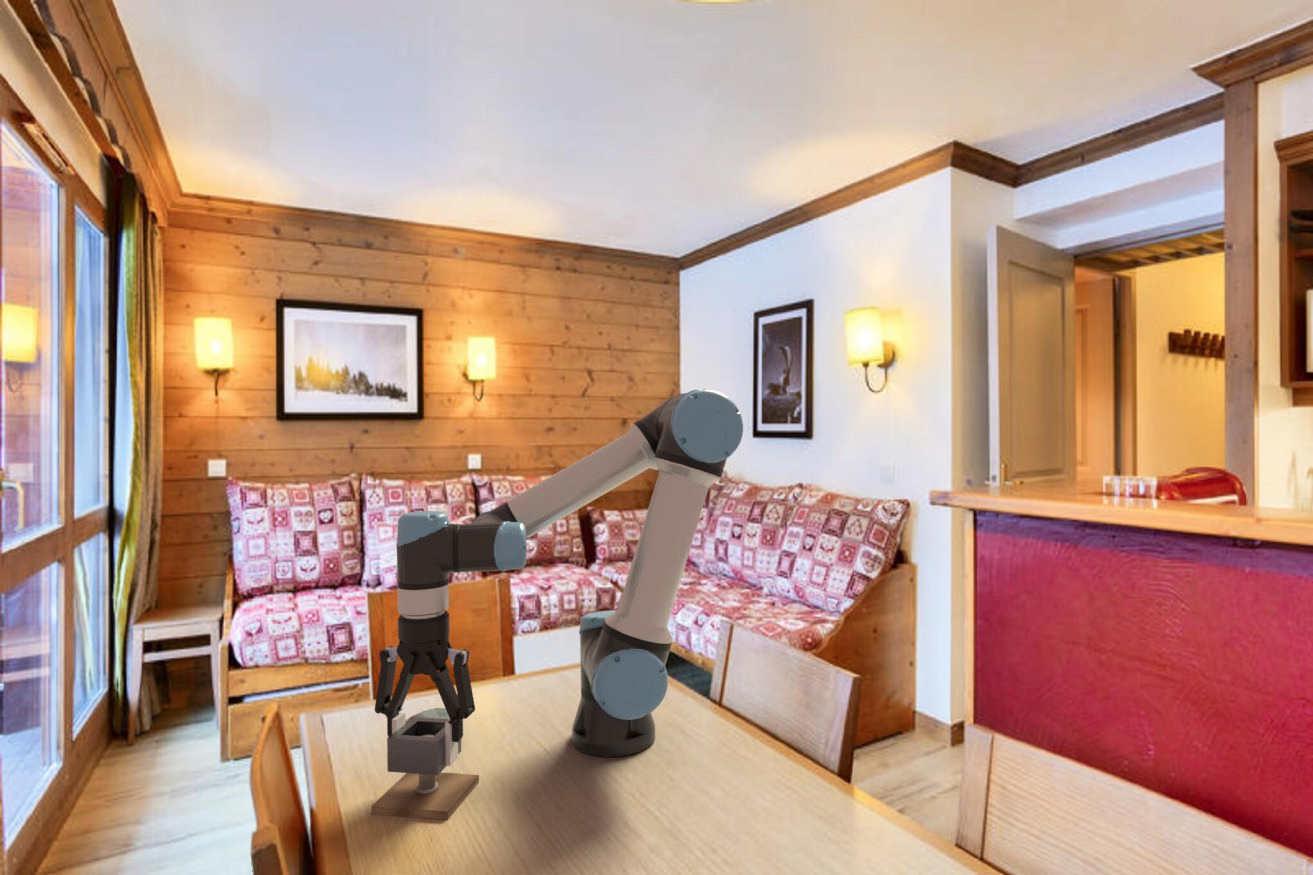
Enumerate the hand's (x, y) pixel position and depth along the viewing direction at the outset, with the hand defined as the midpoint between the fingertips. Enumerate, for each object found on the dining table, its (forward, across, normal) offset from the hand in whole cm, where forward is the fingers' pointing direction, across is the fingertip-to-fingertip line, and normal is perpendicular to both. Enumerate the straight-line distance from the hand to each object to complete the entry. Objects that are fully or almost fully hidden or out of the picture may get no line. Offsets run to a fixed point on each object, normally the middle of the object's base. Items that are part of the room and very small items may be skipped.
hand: (425, 759), depth 109 cm
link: (0, 0, 0) cm, 0 cm away
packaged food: (+6, +9, -19) cm, 22 cm away
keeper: (+6, 0, 0) cm, 6 cm away
